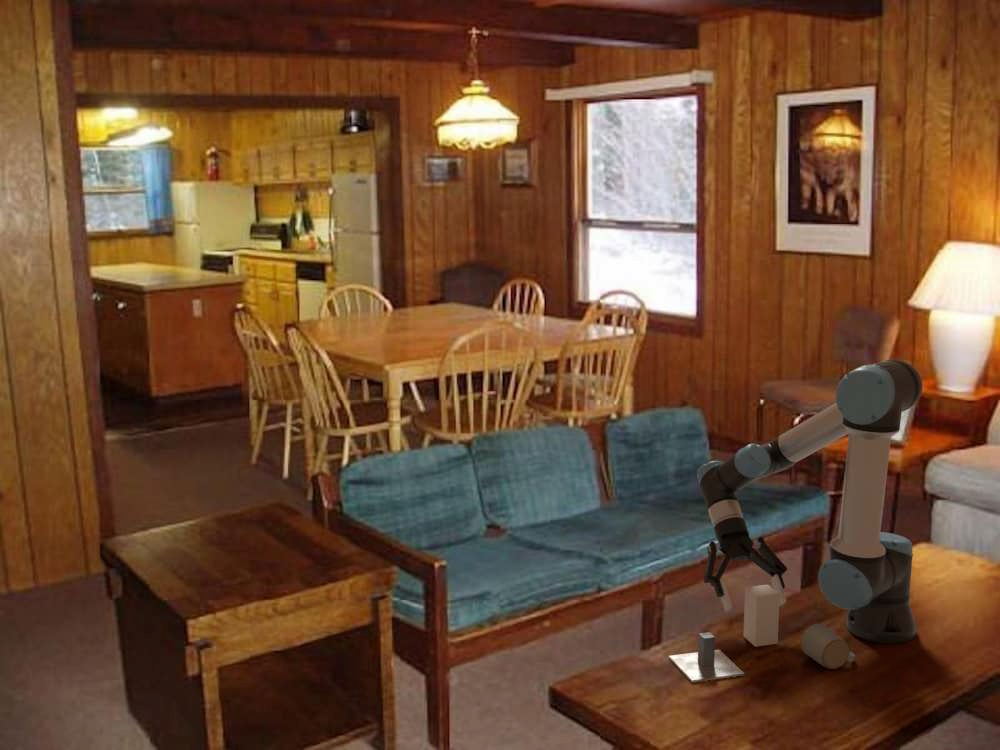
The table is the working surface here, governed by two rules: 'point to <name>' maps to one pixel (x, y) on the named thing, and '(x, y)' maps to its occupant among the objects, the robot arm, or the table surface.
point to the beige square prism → (761, 615)
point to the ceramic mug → (825, 646)
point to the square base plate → (706, 662)
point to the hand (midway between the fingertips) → (756, 606)
